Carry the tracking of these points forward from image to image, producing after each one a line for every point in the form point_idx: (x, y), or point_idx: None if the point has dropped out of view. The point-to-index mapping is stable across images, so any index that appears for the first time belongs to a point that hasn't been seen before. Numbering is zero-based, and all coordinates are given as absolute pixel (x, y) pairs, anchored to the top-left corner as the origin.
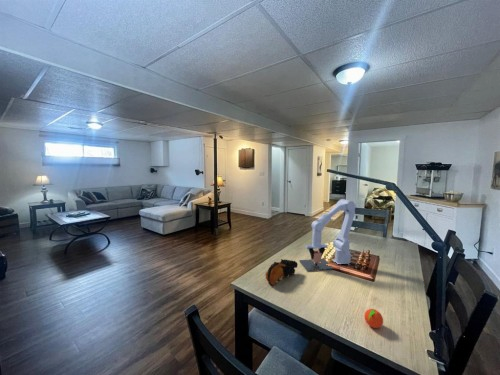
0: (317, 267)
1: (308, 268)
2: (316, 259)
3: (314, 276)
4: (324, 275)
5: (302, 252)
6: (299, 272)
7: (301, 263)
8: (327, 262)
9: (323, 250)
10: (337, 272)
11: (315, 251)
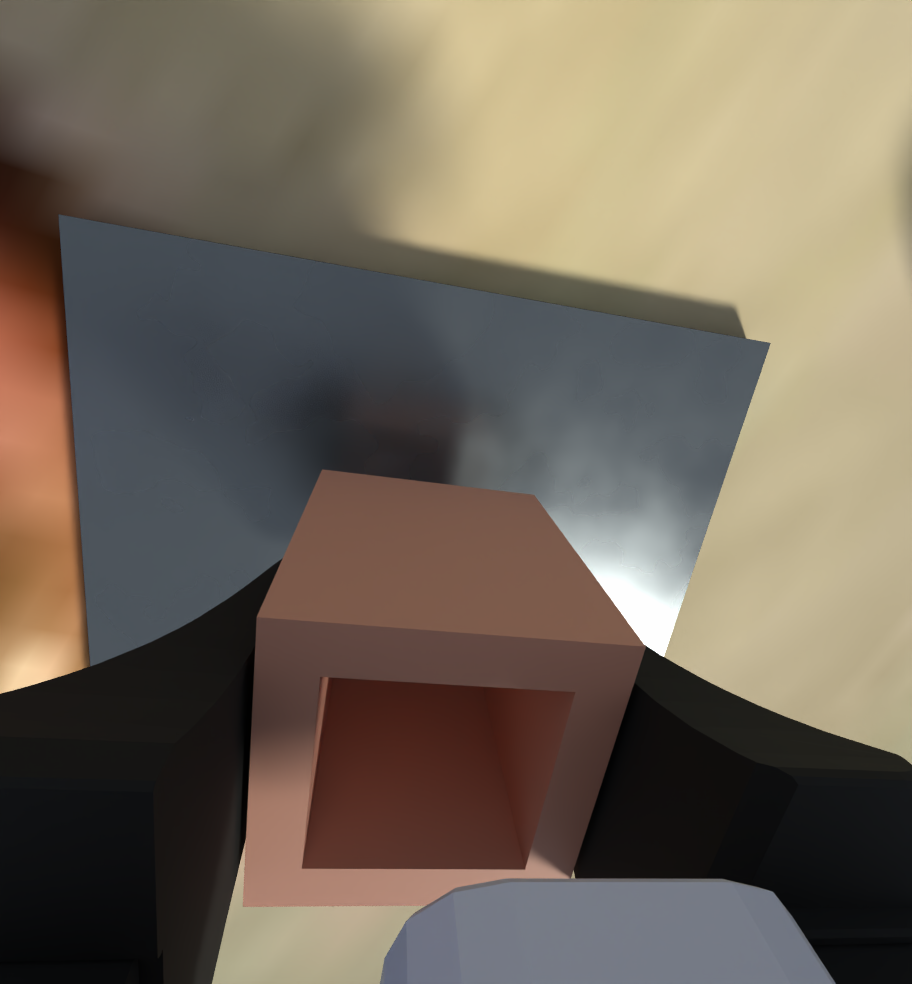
0: (475, 383)
1: (696, 399)
2: (482, 520)
3: (754, 73)
4: (498, 21)
5: (372, 967)
6: (903, 352)
7: (662, 634)
8: (85, 541)
9: (45, 730)
10: (43, 36)
11: (406, 845)
